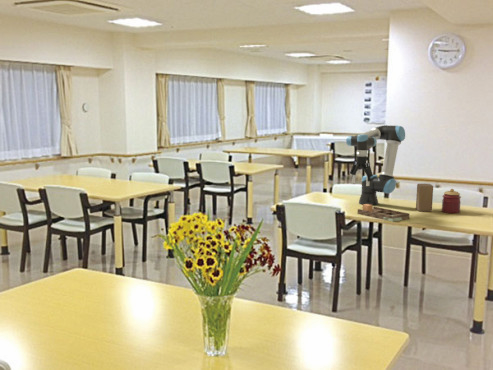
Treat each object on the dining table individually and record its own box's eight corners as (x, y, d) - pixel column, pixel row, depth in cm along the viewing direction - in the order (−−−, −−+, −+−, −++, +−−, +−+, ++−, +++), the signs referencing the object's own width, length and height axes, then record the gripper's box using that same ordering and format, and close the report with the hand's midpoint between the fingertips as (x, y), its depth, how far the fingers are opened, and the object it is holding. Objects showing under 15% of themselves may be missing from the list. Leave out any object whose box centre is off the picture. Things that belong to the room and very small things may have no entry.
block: (428, 209, 406) (430, 183, 403) (432, 212, 396) (433, 185, 393) (415, 209, 407) (416, 183, 404) (418, 211, 397) (419, 185, 394)
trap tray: (357, 213, 388) (357, 209, 388) (373, 211, 399) (374, 206, 398) (392, 221, 362) (392, 216, 362) (409, 218, 373) (409, 213, 372)
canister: (447, 214, 389) (449, 190, 386) (438, 210, 402) (439, 187, 399) (463, 213, 391) (465, 189, 389) (453, 210, 404) (455, 187, 401)
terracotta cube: (362, 211, 387) (362, 204, 386) (367, 210, 390) (367, 203, 389) (367, 212, 383) (368, 205, 382) (372, 211, 386) (372, 204, 385)
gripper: (345, 154, 395) (344, 183, 398) (371, 157, 375) (370, 187, 378) (352, 154, 399) (351, 182, 402) (378, 156, 379) (377, 186, 382)
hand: (360, 184), depth 390 cm, fingers open, 13 cm apart
